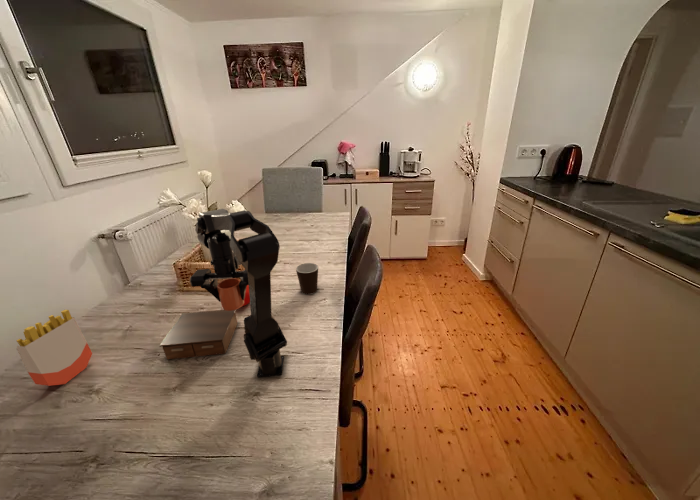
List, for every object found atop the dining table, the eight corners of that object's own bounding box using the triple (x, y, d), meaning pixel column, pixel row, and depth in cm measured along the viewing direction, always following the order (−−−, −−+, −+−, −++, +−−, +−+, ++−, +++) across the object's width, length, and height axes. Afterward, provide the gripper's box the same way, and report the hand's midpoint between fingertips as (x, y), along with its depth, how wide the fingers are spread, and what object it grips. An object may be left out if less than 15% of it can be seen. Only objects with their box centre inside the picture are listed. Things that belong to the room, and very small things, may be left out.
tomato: (224, 303, 105) (220, 283, 101) (251, 293, 111) (247, 274, 107) (233, 314, 98) (228, 294, 95) (261, 303, 104) (257, 283, 101)
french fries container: (38, 390, 71) (1, 333, 63) (82, 358, 80) (54, 306, 73) (53, 392, 70) (17, 335, 63) (96, 360, 80) (69, 307, 73)
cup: (241, 309, 84) (236, 288, 81) (219, 311, 83) (213, 289, 80) (246, 298, 89) (242, 277, 86) (225, 299, 89) (221, 278, 86)
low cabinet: (226, 355, 80) (222, 340, 78) (164, 361, 78) (158, 346, 76) (239, 322, 94) (236, 308, 92) (186, 327, 92) (182, 313, 90)
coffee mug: (316, 296, 107) (314, 273, 103) (295, 294, 109) (292, 272, 105) (324, 281, 118) (323, 260, 114) (305, 280, 119) (303, 259, 115)
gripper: (260, 241, 87) (267, 284, 94) (198, 244, 86) (210, 288, 92) (253, 256, 77) (261, 303, 83) (182, 260, 76) (196, 308, 82)
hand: (232, 300), depth 86 cm, fingers closed on cup, 6 cm apart
